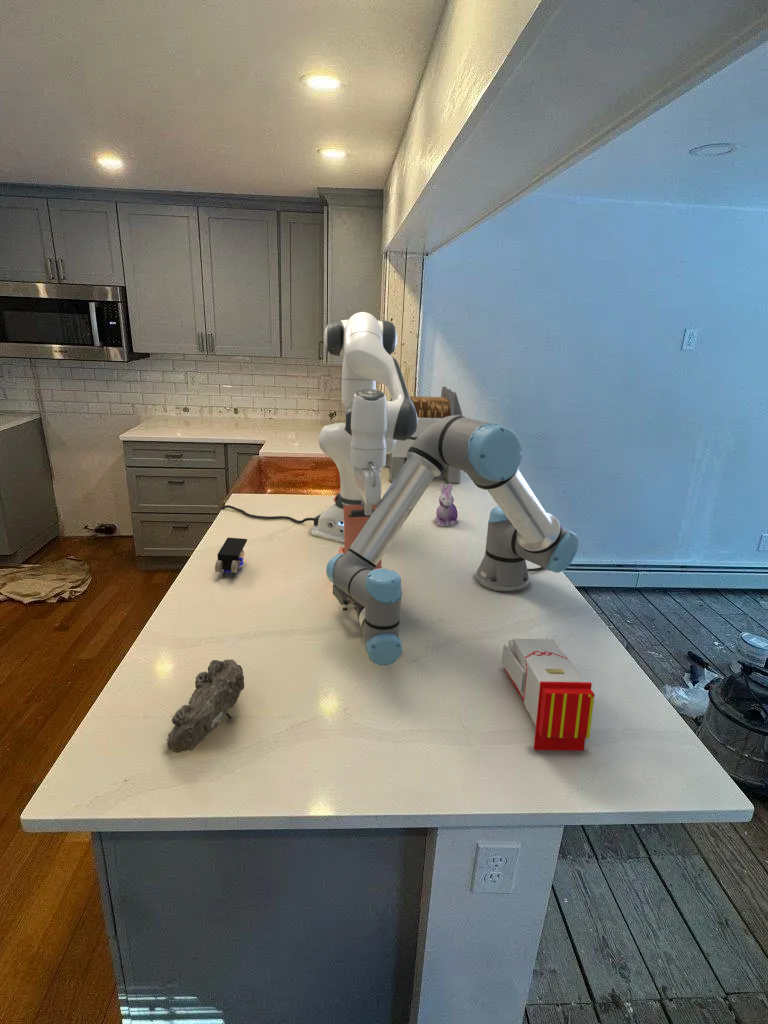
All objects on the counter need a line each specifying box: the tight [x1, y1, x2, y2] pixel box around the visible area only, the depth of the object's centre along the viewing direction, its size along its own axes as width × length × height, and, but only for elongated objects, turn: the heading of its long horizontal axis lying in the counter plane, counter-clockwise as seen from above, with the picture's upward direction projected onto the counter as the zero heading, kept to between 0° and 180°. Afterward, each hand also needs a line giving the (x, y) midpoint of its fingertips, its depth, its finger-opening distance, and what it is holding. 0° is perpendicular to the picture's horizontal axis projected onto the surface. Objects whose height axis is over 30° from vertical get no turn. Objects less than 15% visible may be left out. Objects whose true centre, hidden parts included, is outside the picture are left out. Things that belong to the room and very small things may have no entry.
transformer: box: [385, 386, 463, 484], centre depth 268 cm, size 34×33×41 cm
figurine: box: [434, 483, 459, 527], centre depth 210 cm, size 9×10×15 cm
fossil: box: [166, 658, 245, 754], centre depth 106 cm, size 22×10×15 cm
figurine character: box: [214, 537, 248, 578], centre depth 166 cm, size 7×8×15 cm
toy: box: [500, 637, 595, 752], centre depth 114 cm, size 12×13×30 cm
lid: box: [343, 505, 383, 569], centre depth 147 cm, size 17×10×9 cm
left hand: (366, 511), depth 143 cm, fingers open, 3 cm apart
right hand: (361, 574), depth 154 cm, fingers closed on chest, 10 cm apart
